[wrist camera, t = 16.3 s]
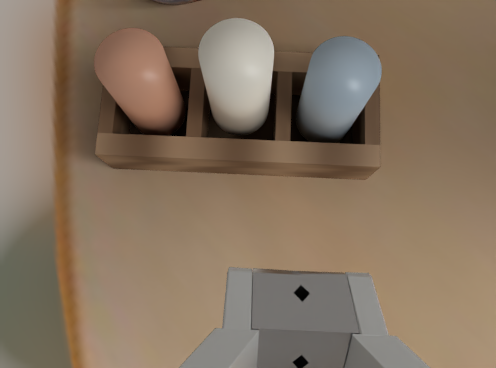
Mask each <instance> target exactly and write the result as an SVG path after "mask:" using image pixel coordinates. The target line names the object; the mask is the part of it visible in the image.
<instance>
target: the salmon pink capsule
mask: <svg viewBox="0 0 496 368" xmlns="http://www.w3.org/2000/svg"><path fill="white" fill-rule="evenodd" d="M94 68H95V72H96V75H97V77H98V79H99V80H100V81H101V83H102V84H103V85H104V87H105V88H106V89H107V90H108V92H109V93H110V94H111V96H112V97H113V98H114V99H115V101H116V102H117V103H118V105H119V106H120V107H121V108H122V110H123V111H124V112H125V114H126V115H127V116H128V117H129V119H130V120H131V121H132V123H133V124H134V125H135V126H136V128H137V129H138V130H139V131H140V132H141V133H143V134H144V135H159V136H169V135H171V134H173V133H174V132H176V131H177V130H178V129H179V128H180V127H181V125H182V124H183V122H184V119H185V116H186V106H185V102H184V100H183V97H182V95H181V92H180V89H179V87H178V84H177V82H176V79H175V77H174V74H173V71H172V69H171V66H170V64H169V61H168V59H167V56H166V53H165V51H164V48H163V46H162V44H161V42H160V41H159V40H158V39H157V38H156V37H155V36H154V35H153V34H151V33H150V32H148V31H145V30H143V29H139V28H125V29H121V30H118V31H116V32H113V33H112V34H110V35H109V36H107V37H106V38H105V39H104V40H103V41H102V42H101V44H100V45H99V47H98V49H97V51H96V54H95V58H94Z"/></svg>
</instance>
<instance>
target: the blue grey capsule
mask: <svg viewBox="0 0 496 368" xmlns="http://www.w3.org/2000/svg"><path fill="white" fill-rule="evenodd" d="M381 73H382V70H381V63H380V60H379V58H378V55H377V54H376V52H375V51H374V50H373V49H372V48H371V47H370V46H369V45H368V44H367V43H365V42H364V41H362V40H360V39H357V38H354V37H348V36H340V37H334V38H331V39H329V40H327V41H325V42H323V43H322V44H321V45H320V46H318V47H317V49H316V50H315V51H314V53H313V55H312V57H311V60H310V63H309V67H308V71H307V75H306V78H305V82H304V86H303V89H302V93H301V97H300V101H299V104H298V108H297V112H296V124H297V128H298V130H299V132H300V133H301V134H302V136H303V137H304V138H306V139H307V140H308V141H310V142H320V143H336V142H338V141H339V140H341V139H342V138H343V137H344V136H345V135H346V134H347V132H348V131H349V129H350V128H351V126H352V124H353V123H354V121H355V120H356V118H357V117H358V115H359V114H360V112H361V111H362V109H363V108H364V106H365V105H366V103H367V102H368V100H369V99H370V97H371V96H372V94H373V93H374V91H375V90H376V88H377V86H378V84H379V82H380V79H381Z"/></svg>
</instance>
